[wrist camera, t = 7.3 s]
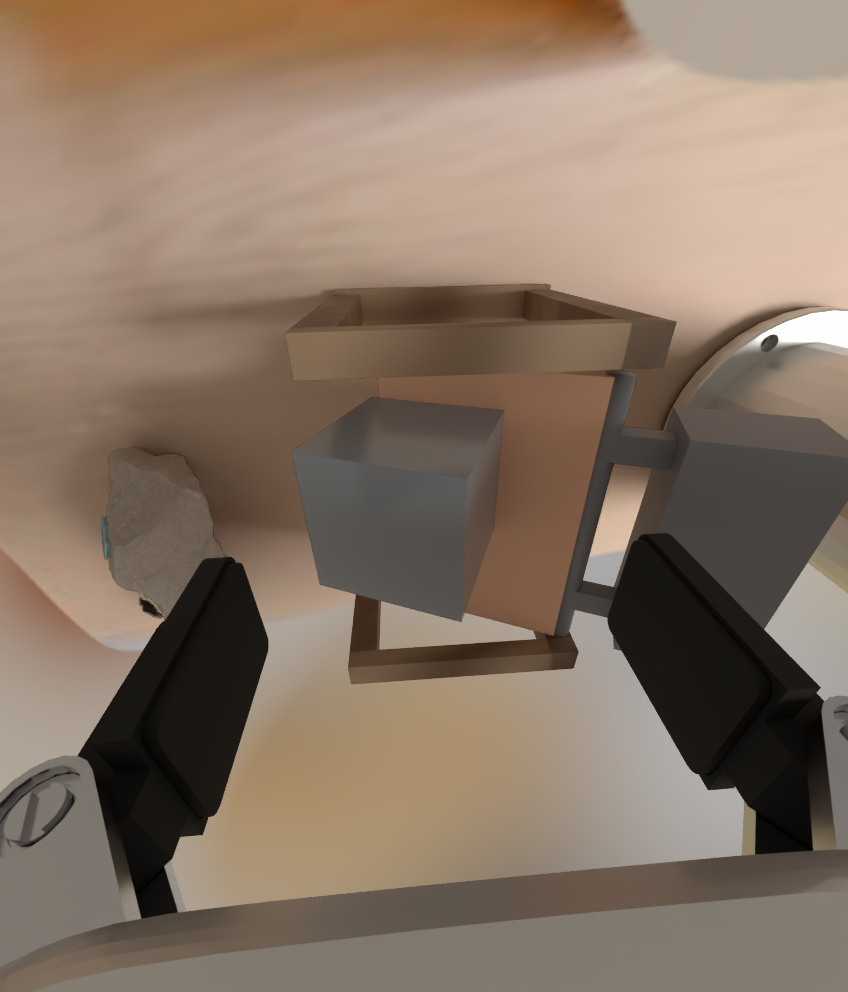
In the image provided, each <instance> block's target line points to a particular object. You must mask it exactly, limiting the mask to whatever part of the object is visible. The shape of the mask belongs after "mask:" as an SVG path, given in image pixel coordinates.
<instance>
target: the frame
mask: <svg viewBox="0 0 848 992" xmlns="http://www.w3.org/2000/svg"><path fill="white" fill-rule="evenodd" d="M550 287H551V285H549V284H529V285H487V286H445V287H403V288H361V289H334V290H333V291H334V295H333V296H332V297H331V298H329V299H328V300H327V301H326V302H324V303H323V304H322V305H320V306H319V307H318V308H316V309H315V310H314V311H313V312H311V313H310V314H309V315H307V316H306V317H305V318H303V319H302V320H301V321H300V322H298V323H297V324H296V325H294V326H293V327H292V328H290V329H289V330H288V331H286V332H285V333H284V334H285V339H286V344H287V349H288V355H289V360H290V365H291V370H292V376H293V381H306V380H335V379H364V378H393V377H421V376H450V375H479V374H508V373H537V372H565V371H594V370H623V369H652V368H663V366H664V363H665V359H666V356H667V353H668V349H669V346H670V342H671V339H672V336H673V332H674V329H675V326H676V321H672V320H668V319H664V318H660V317H656V316H652V315H648V314H644V313H640V312H636V311H632V310H628V309H624V308H620V307H616V306H612V305H608V304H604V303H601V302H597V301H593V300H589V299H585V298H581V297H577V296H573V295H569V294H565V293H561V292H557V291H553V290H550ZM380 610H381V601H380V600H376V599H372V598H369V597H365V596H361V595H357V594H356V599H355V608H354V617H353V627H352V637H351V646H350V655H349V664H348V670H349V675H350V680H351V684H363V683H375V682H376V683H377V682H391V681H405V680H419V679H432V678H446V677H460V676H475V675H488V674H502V673H516V672H529V671H544V670H558V669H572V668H574V665H575V662H576V658H577V655H578V650H577V647H576V645H575V643H574V641H573V639H572V637H571V634H570V632H569V633H568V634H567V635H566V636H562V637H561V636H556V635H554V636H552V635H549V634H545V633H541V632H537V631H534V634H535V636H536V639H533V640H519V641H505V642H489V643H475V644H460V645H445V646H430V647H415V648H402V649H401V648H400V649H387V650H379V638H380Z"/></svg>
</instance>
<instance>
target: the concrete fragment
mask: <svg viewBox="0 0 848 992" xmlns="http://www.w3.org/2000/svg"><path fill="white" fill-rule="evenodd" d="M108 459H109V467H110V470H109V477H110V480H111V481H110V482H111V492H110V496H109V503H108V504H107V506H108V508H107V510H106V518H105V517H102V544H103V552H104V558H105V560H106V559H109V569H110V571H111V573H112V577H113V579H114V580H115V582H116V583H117V584H118V585H119V586H120V587H122V588H124V589H125V590H130V591H134V592H138V593H141V594H143V595H144V597H145V598H149V599H151V600H153V602H154V603H156V604H157V605H158V607H159V610H160V611H161V612H162V613H163V614H164V615H165V617H166V618H167V617H168V615H169V613H170V612H171V610H172V609H173V607H174V605H175V604H176V602H177V600H178V599H179V597H180V596H181V594H182V592H183V591H184V589H185V587H186V586H187V584H188V582H189V581H190V579H191V578H192V576H193V574H194V573H195V571H196V569H197V568H198V566H199V565H200V563H201V562H202V561H203V560H204V559H206V558H222V557H225V556H224V555H223V554H222V551H221V547H220V543H219V542H218V541H217V540H216V539H215V538H213V526H214V523H213V520H212V517H211V514H210V512H209V505H208V500H207V498H206V497H205V496H204V494H203V492H202V490H201V487H200V481H199V479H197V478H196V477H195V476H194V474H193V473H192V471H191V470H190V469H189V467H188V465H187V464H186V459H185V458H184V457H183V456H181V455H177V454H164V455H161V456H154V455H152V454H150V453H148V452H146V451H144V450H142V449H140V448H134V447H129V448H125V449H117V450H115V451H113V452H111V453H110V455H109V457H108ZM139 605H140V606H142V609H143V612H145V613H147V614H149V615H151V616H152V617H154V618H158V619H161V618H163V617H164V616H163V615H162V614H161V613H160V612H158V610H157V609H156V608H155V606H154V605H153V604H151V603H150V602H149V601H146V600H143V599H142V598H141V597H139ZM165 617H164V620H166V618H165Z"/></svg>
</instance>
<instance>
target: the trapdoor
mask: <svg viewBox="0 0 848 992" xmlns="http://www.w3.org/2000/svg"><path fill="white" fill-rule="evenodd" d="M636 378H637V374H636V373H633V372H630V371H624V370H594V371H565V372H537V373H508V374H479V375H450V376H421V377H393V378H378V379H379V392H380V398H386V399H397V400H407V401H417V402H428V403H438V404H448V405H459V406H469V407H480V408H490V409H500V410H505V411H504V422H503V433H502V445H501V456H500V467H499V478H498V490H497V501H496V512H495V523H494V530H493V533H492V536H491V539H490V542H489V545H488V548H487V550H486V553H485V556H484V559H483V562H482V565H481V568H480V570H479V573H478V576H477V579H476V582H475V585H474V588H473V591H472V593H471V596H470V599H469V602H468V605H467V608H466V611H465V613H468V614H472V615H476V616H480V617H484V618H487V619H491V620H495V621H499V622H503V623H507V624H510V625H514V626H519V627H522V628H526V629H529V630H533V631H537V632H541V633H545V634H549V635H552V636H554V635H556V636H561V637H562V636H566V635H567V634H568V633H569V629H570V625H571V622H572V618H573V615H574V611H575V610H579V611H582V612H587V613H591V614H595V615H599V616H603V617H607V618H608V613H609V610H610V607H611V604H612V601H613V598H614V595H615V592H616V589H617V586H618V583H619V580H620V577H621V574H622V571H623V568H624V565H625V562H626V559H627V556H628V553H629V550H630V547H631V545H632V543H633V542H634V541H636V540H638V538H639V536H641V535H643V534H654V533H668V534H670V535H672V536H673V537H674V538H675V539H676V540H677V541H678V542H679V543H680V544H681V545H682V546H683V547H684V548H685V549H686V550H687V551H688V552H689V553H690V554H691V556H692V557H693V558H694V559H695V560H696V561H697V562H698V563H699V564H700V565H701V566H702V567H703V568H704V569H705V570H706V571H707V572H708V573H709V574H710V575H711V576H712V577H713V578H714V579H715V580H716V581H717V582H718V583H719V584H720V585H721V586H722V587H723V588H724V589H725V590H726V591H727V592H728V593H729V594H730V595H731V596H732V597H733V598H734V599H735V601H736V602H737V603H738V604H739V605H740V606H741V607H742V608H743V609H744V610H745V611H746V612H747V613H748V614H749V615H750V616H751V617H752V618H753V619H754V620H755V621H756V622H757V623H758V624H759V625H760V626H761V627H762V628H763V629H764V628H765V627H766V625H767V624H768V622H769V621H770V619H771V618H772V616H773V615H774V613H775V611H776V610H777V609H778V607H779V605H780V604H781V602H782V601H783V599H784V598H785V596H786V595H787V593H788V592H789V590H790V589H791V587H792V586H793V584H794V582H795V581H796V579H797V578H798V576H799V575H800V573H801V572H802V570H803V569H804V567H805V566H806V564H807V563H808V561H809V560H810V558H811V557H812V555H813V554H814V552H815V550H816V549H817V547H818V546H819V544H820V543H821V541H822V540H823V538H824V537H825V535H826V534H827V532H828V531H829V529H830V528H831V526H832V524H833V523H834V521H835V520H836V518H837V517H838V515H839V514H840V512H841V511H842V509H843V508H844V506H845V505H846V503H847V502H848V440H847V439H846V438H844V437H843V436H842V435H840V434H839V433H838V432H836V431H835V430H834V429H832V428H831V427H830V426H828V425H827V424H826V423H824V422H823V421H822V420H821V419H819V418H808V417H796V416H785V415H773V414H762V413H750V412H739V411H728V410H716V409H705V408H693V407H682V406H673V408H672V411H671V414H670V417H669V420H668V423H667V426H666V429H665V431H663V430H653V429H644V428H634V427H625V426H624V423H625V419H626V416H627V412H628V408H629V404H630V401H631V397H632V393H633V389H634V386H635V382H636ZM614 463H617V464H625V465H633V466H640V467H648V468H653V469H652V472H651V475H650V478H649V481H648V484H647V487H646V491H645V494H644V497H643V500H642V503H641V506H640V509H639V512H638V515H637V518H636V521H635V524H634V527H633V530H632V533H631V536H630V539H629V543H628V546H627V549H626V552H625V555H624V558H623V561H622V564H621V567H620V570H619V573H618V576H617V579H616V582H615V585H614V587H610V586H606V585H601V584H596V583H592V582H587V581H583V577H584V573H585V570H586V566H587V562H588V558H589V555H590V551H591V547H592V543H593V540H594V536H595V532H596V528H597V525H598V521H599V517H600V513H601V510H602V506H603V502H604V498H605V495H606V491H607V487H608V483H609V480H610V476H611V472H612V468H613V465H614ZM613 639H614V640H613V641H614V649H617V650H621V649H620V647H619V645H618V643H617V642H616V640H615V638H614V636H613ZM621 651H622V650H621Z"/></svg>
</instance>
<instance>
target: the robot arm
mask: <svg viewBox="0 0 848 992" xmlns="http://www.w3.org/2000/svg"><path fill="white" fill-rule="evenodd" d="M674 406H682V407H693V408H705V409H716V410H728V411H739V412H750V413H762V414H773V415H785V416H796V417H808V418H819V419H821V420H822V421H823V422H824V423H826V424H827V425H828V426H830V427H831V428H832V429H834V430H835V431H836V432H838V433H839V434H840V435H842V436H843V437H844V438H846V439H847V440H848V309H842V308H835V307H808V308H804V309H800V310H795V311H791V312H786V313H783V314H781V315H778V316H776V317H773V318H771V319H768V320H766V321H764V322H761V323H759V324H757V325H756V326H754V327H752V328H751V329H749V330H747V331H745V332H744V333H742V334H740V335H739V336H737V337H736V338H734V339H733V340H732V341H730V342H729V343H728V344H727V345H725V346H724V347H723V348H721V349H720V350H719V351H718V352H716V353H715V354H714V355H713V356H712V357H711V358H710V359H709V360H708V361H707V362H706V363H705V364H704V365H703V366H702V367H701V368H700V369H699V370H698V371H697V372H696V373H695V375H694V376H693V377H692V378H691V380H690V381H689V382H688V384H687V385H686V386H685V388H684V389H683V390H682V392H681V393H680V395H679V397H678V398H677V400H676V402H675V404H674ZM672 408H673V407H672ZM671 411H672V409H671ZM671 411H670V413H669V416H668V418H667V421H666V424H665V426H664V429H663V431H665V429H666V426H667V423H668V420H669V417H670V414H671ZM808 563H809V564H810V565H811V566H813V567H814V568H815V569H817V570H818V571H819V572H821V573H822V574H823V575H825V576H826V577H827V578H828V579H830V580H831V581H833V582H834V583H835V584H837V585H838V586H839V587H840V588H842V589H843V590H844V591H846V592H847V593H848V502H847V503H846V505H845V506H844V508H843V509H842V511H841V512H840V514H839V515H838V517H837V518H836V520H835V521H834V523H833V524H832V526H831V528H830V529H829V531H828V532H827V534H826V535H825V537H824V538H823V540H822V541H821V543H820V544H819V546H818V547H817V549H816V550H815V552H814V554H813V555H812V557H811V558H810V560H809V561H808ZM608 625H609V629H610V631H611V633H612V635H613V636H614V638H615V640H616V642H617V643H618V645H619V647H620V649H621V650H622V652H623V654H624V655H625V657H626V659H627V661H628V663H629V664H630V666H631V668H632V670H633V671H634V673H635V675H636V676H637V678H638V680H639V682H640V683H641V685H642V687H643V689H644V690H645V692H646V694H647V696H648V697H649V699H650V701H651V703H652V704H653V706H654V708H655V710H656V712H657V713H658V715H659V717H660V719H661V720H662V722H663V724H664V726H665V727H666V729H667V731H668V733H669V734H670V736H671V738H672V739H673V741H674V743H675V745H676V747H677V748H678V750H679V752H680V753H681V755H682V757H683V759H684V760H685V762H686V764H687V765H688V767H689V768H690V769H691V770H692V771H693V772H694V773H696V774H699V775H700V777H701V779H702V780H703V782H704V784H705V786H706V787H707V789H708V790H717V789H728V788H734V787H736V788H737V790H738V792H739V793H740V795H741V796H742V798H743V799H744V822H743V847H742V856H732V857H722V858H711V859H700V860H688V861H678V862H667V863H657V864H645V865H635V866H623V867H613V868H601V869H591V870H580V871H570V872H560V873H549V874H539V875H530V876H520V877H519V876H518V877H508V878H498V879H488V880H477V881H467V882H457V883H446V884H436V885H426V886H416V887H406V888H396V889H386V890H377V891H367V892H357V893H347V894H337V895H328V896H318V897H308V898H298V899H289V900H279V901H269V902H261V903H253V904H245V905H236V906H228V907H221V908H213V909H204V910H196V911H188V912H186V908H185V905H184V902H183V899H182V896H181V893H180V890H179V887H178V883H177V880H176V877H175V874H174V871H173V868H172V864H171V862H170V860H171V859H172V858H173V855H174V852H175V849H176V846H177V844H178V841H179V838H180V837H184V836H195V835H203V832H204V829H205V826H206V823H207V820H208V817H211V816H214V815H215V814H216V813H217V810H218V809H219V807H220V804H221V801H222V798H223V794H224V791H225V788H226V784H227V782H228V778H229V775H230V772H231V769H232V766H233V762H234V759H235V755H236V753H237V749H238V746H239V743H240V740H241V737H242V733H243V730H244V727H245V724H246V720H247V717H248V714H249V711H250V707H251V704H252V701H253V698H254V695H255V692H256V688H257V685H258V682H259V679H260V675H261V672H262V669H263V666H264V662H265V659H266V656H267V652H268V637H267V634H266V631H265V628H264V625H263V622H262V619H261V616H260V614H259V611H258V608H257V605H256V602H255V599H254V596H253V593H252V590H251V587H250V584H249V581H248V578H247V575H246V573H245V570H244V567H243V565H242V564H241V563H236V562H235V560H234V559H233V558H232V557H222V558H206V559H204V560H203V561H202V562H201V563H200V565H199V566H198V568H197V569H196V571H195V573H194V574H193V576H192V578H191V579H190V581H189V582H188V584H187V586H186V587H185V589H184V591H183V592H182V594H181V596H180V597H179V599H178V600H177V602H176V604H175V605H174V607H173V609H172V610H171V612H170V613H169V615H168V617H167V618H166V620H165V621H163V622H162V623H161V624H160V625H159V627H158V628H157V629H156V631H155V632H154V634H153V635H152V637H151V639H150V640H149V642H148V644H147V645H146V647H145V648H144V650H143V652H142V653H141V655H140V657H139V658H138V660H137V661H136V663H135V665H134V666H133V668H132V669H131V671H130V673H129V674H128V676H127V678H126V679H125V681H124V682H123V684H122V685H121V687H120V688H119V690H118V692H117V693H116V695H115V697H114V698H113V700H112V701H111V703H110V705H109V706H108V708H107V709H106V711H105V713H104V714H103V716H102V717H101V719H100V721H99V722H98V724H97V725H96V727H95V729H94V730H93V732H92V733H91V735H90V737H89V738H88V740H87V741H86V743H85V745H84V746H83V748H82V749H81V751H80V753H79V754H78V756H62V757H58V758H54V759H51V760H48V761H46V762H44V763H42V764H39V765H38V766H36V767H34V768H31V769H30V770H28V771H27V772H25V773H24V774H22V775H21V776H20V777H18V778H17V779H15V780H14V781H13V782H11V783H10V784H9V785H8V786H7V787H6V788H5V789H4V790H3V791H2V792H1V793H0V992H848V697H847V696H835V697H829V698H828V699H827V700H826V701H825V702H824V701H823V700H822V699H821V697H820V696H819V695H818V694H817V691H818V690H819V689H820V688H821V687H820V686H818V684H817V683H816V682H815V681H814V680H813V679H812V678H811V677H810V676H809V675H808V674H807V673H806V672H805V671H804V670H803V669H802V668H801V667H800V666H799V665H798V664H797V663H796V662H795V661H794V660H793V659H792V658H791V657H790V656H789V655H788V654H787V653H786V652H785V651H784V650H783V649H782V648H781V647H780V646H779V644H777V642H775V640H774V639H773V638H772V637H771V636H770V635H769V634H768V633H767V632H766V631H765V630H764V629H763V628H762V627H761V626H760V625H759V624H758V623H757V622H756V621H755V620H754V619H753V618H752V617H751V616H750V615H749V614H748V613H747V612H746V611H745V610H744V609H743V608H742V607H741V606H740V605H739V604H738V603H737V602H736V601H735V599H734V598H733V597H732V596H731V595H730V594H729V593H728V592H727V591H726V590H725V589H724V588H723V587H722V586H721V585H720V584H719V583H718V582H717V581H716V580H715V579H714V578H713V577H712V576H711V575H710V574H709V573H708V572H707V571H706V570H705V569H704V568H703V567H702V566H701V565H700V564H699V563H698V562H697V561H696V560H695V559H694V558H693V557H692V556H691V554H690V553H689V552H688V551H687V550H686V549H685V548H684V547H683V546H682V545H681V544H680V543H679V542H678V541H677V540H676V539H675V538H674V537H673V536H672V535H670V534H668V533H654V534H643V535H641V536H639V538H638V540H636V541H634V542H633V543H632V545H631V547H630V550H629V553H628V556H627V559H626V562H625V565H624V568H623V571H622V574H621V577H620V580H619V583H618V586H617V589H616V592H615V595H614V598H613V601H612V604H611V607H610V610H609V613H608Z"/></svg>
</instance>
